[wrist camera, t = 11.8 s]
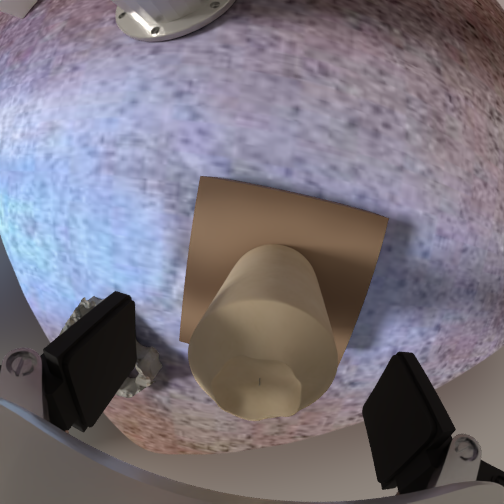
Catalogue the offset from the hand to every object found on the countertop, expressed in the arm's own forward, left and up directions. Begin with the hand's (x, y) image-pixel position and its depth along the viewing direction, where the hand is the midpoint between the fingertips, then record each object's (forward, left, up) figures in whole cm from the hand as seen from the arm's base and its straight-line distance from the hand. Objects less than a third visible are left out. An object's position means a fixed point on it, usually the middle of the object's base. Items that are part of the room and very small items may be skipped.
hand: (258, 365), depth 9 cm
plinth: (+1, 0, -13) cm, 13 cm away
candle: (0, 0, -9) cm, 9 cm away
